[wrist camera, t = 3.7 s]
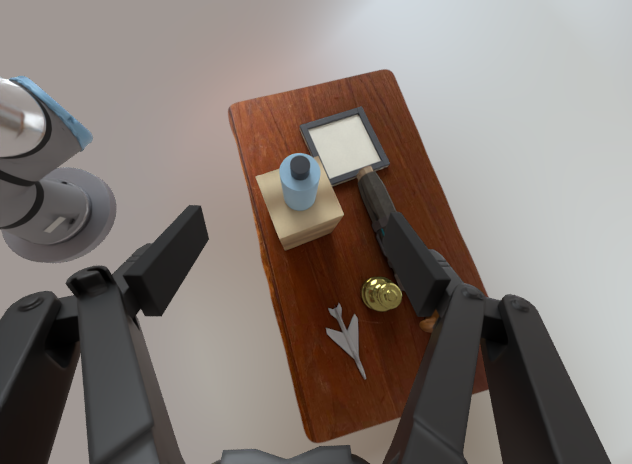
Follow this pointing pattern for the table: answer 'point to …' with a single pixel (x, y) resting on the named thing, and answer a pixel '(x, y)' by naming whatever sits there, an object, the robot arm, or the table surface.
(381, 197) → the tube
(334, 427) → the table surface
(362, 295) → the brass weight
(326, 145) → the whiteboard
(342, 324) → the toy airplane
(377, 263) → the table surface
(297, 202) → the cleaner bottle
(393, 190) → the table surface
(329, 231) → the stand
